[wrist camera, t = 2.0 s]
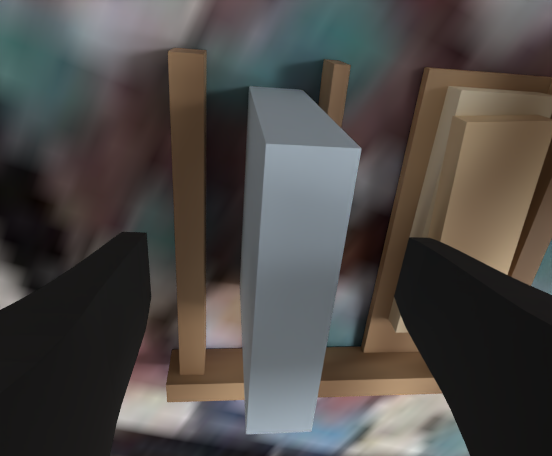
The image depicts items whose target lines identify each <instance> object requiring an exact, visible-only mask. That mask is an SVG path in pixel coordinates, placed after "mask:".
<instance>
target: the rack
mask: <svg viewBox="0 0 552 456" xmlns="http://www.w3.org/2000/svg"><path fill="white" fill-rule="evenodd" d="M350 67H351V65H349V64H346V63H344V62H341V61H339V60H326V59H324V62H323V70H322V78H321V87H320V95H319V103H318V106H319V107H320V108H321V109H322V110H323V111H324V112H325V113H326V114H327V115H328V116H329V117H330V118H331V119H332V120H333V121H334V122H335V123H336V124H337V125H338V126H339V127H340V128H341V127H342V120H343V114H344V107H345V100H346V94H347V87H348V80H349V74H350ZM168 69H169V95H170V122H171V148H172V175H173V202H174V228H175V255H176V282H177V308H178V335H179V349H178V350H172V353H171V359H170V365H169V371H168V377H167V383H166V391H167V402H190V401H221V400H245V397H244V373H243V349H242V348H241V349H206V50H197V49H184V48H173V49H171V50H169V51H168ZM448 86H457V87H471V88H485V89H499V90H513V91H527V92H540V93H544V94H548V95H552V77H546V76H533V75H520V74H507V73H494V72H481V71H468V70H455V69H443V68H430V67H425V68H424V72H423V76H422V81H421V85H420V90H419V94H418V98H417V103H416V107H415V112H414V116H413V120H412V125H411V129H410V134H409V138H408V142H407V147H406V151H405V156H404V160H403V164H402V169H401V173H400V177H399V182H398V186H397V191H396V195H395V199H394V204H393V208H392V213H391V217H390V221H389V226H388V230H387V235H386V239H385V243H384V248H383V252H382V257H381V261H380V265H379V270H378V274H377V279H376V283H375V287H374V292H373V296H372V301H371V305H370V309H369V314H368V318H367V322H366V327H365V331H364V336H363V340H362V344H361V347H326V352H325V357H324V363H323V369H322V374H321V380H320V386H319V391H318V397H346V396H377V395H408V394H439V393H442V392H441V390H440V388H439V386H438V384H437V383H436V381H435V379H434V377H433V376H432V374H431V372H430V370H429V368H428V367H427V365H426V363H425V361H424V360H423V358H422V356H421V354H420V353H419V351H418V349H417V347H416V345H415V344H414V342H413V340H412V338H411V336H410V334H409V333H408V332H405V333H396V332H395V330H394V328H393V326H392V325H391V323H390V321H389V315H390V311H391V307H392V303H393V299H394V294H395V290H396V286H397V283H398V279H399V275H400V271H401V267H402V263H403V259H404V255H405V251H406V247H407V243H408V240H409V237H410V233H411V229H412V225H413V222H414V218H415V214H416V210H417V206H418V202H419V198H420V194H421V190H422V187H423V183H424V179H425V175H426V171H427V167H428V163H429V159H430V155H431V152H432V148H433V144H434V140H435V136H436V132H437V128H438V124H439V120H440V117H441V113H442V109H443V105H444V101H445V97H446V93H447V89H448ZM550 119H552V114H551V117H550ZM551 239H552V138H551V141H550V144H549V147H548V151H547V154H546V157H545V160H544V163H543V166H542V169H541V172H540V175H539V178H538V182H537V185H536V188H535V191H534V194H533V197H532V200H531V203H530V206H529V209H528V213H527V216H526V219H525V222H524V225H523V228H522V231H521V234H520V237H519V241H518V244H517V247H516V250H515V253H514V256H513V259H512V262H511V265H510V268H509V272H508V276H511V277H513V278H515V279H517V280H519V281H521V282H523V283H525V284H528V285H530V286H531V284H532V282H533V280H534V278H535V275H536V273H537V271H538V268H539V266H540V264H541V261H542V259H543V257H544V255H545V252H546V250H547V248H548V245H549V243H550V241H551Z"/></svg>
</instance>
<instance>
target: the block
mask: <svg viewBox="0 0 552 456" xmlns="http://www.w3.org/2000/svg"><path fill="white" fill-rule="evenodd" d="M361 149H362V148H361V147H360V146H359V145H358V144H357V143H356V142H355V141H354V140H353V139H352V138H351V137H349V136H348V135H347V134H346V133H345V132H344V131H343V130H342V129H341V128H340V127H339V126H338V125H337V124H336V123H335V122H334V121H333V120H332V119H331V118H330V117H329V116H328V115H327V114H326V113H325V112H324V111H323V110H322V109H321V108H320V107H319V106H318V105H317V104H316V103H315V102H314V101H313V100H312V99H311V98H310V97H309V96H308V95H307V94H306V93H305V92H304V91H303V90H300V89H285V88H270V87H256V86H249V99H248V120H247V142H246V163H245V184H244V206H243V227H242V248H241V270H240V302H241V326H242V349H243V373H244V397H245V421H246V434H266V433H290V432H311V431H312V425H313V419H314V414H315V408H316V403H317V397H318V391H319V386H320V380H321V374H322V369H323V363H324V357H325V352H326V346H327V341H328V335H329V329H330V324H331V318H332V312H333V307H334V301H335V295H336V290H337V284H338V279H339V273H340V267H341V262H342V256H343V250H344V245H345V239H346V233H347V228H348V222H349V216H350V211H351V205H352V200H353V194H354V188H355V183H356V177H357V171H358V166H359V160H360V154H361Z"/></svg>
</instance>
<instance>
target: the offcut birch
mask: <svg viewBox="0 0 552 456" xmlns="http://www.w3.org/2000/svg"><path fill="white" fill-rule="evenodd" d="M551 114H552V95H548V94H544V93H540V92H527V91H513V90H499V89H485V88H471V87H457V86H448V89H447V93H446V97H445V101H444V105H443V109H442V113H441V117H440V120H439V124H438V128H437V132H436V136H435V140H434V144H433V148H432V152H431V155H430V159H429V163H428V167H427V171H426V175H425V179H424V183H423V187H422V190H421V194H420V198H419V202H418V206H417V210H416V214H415V218H414V222H413V225H412V229H411V233H410V237H421V238H428V234H429V229H430V224H431V219H432V214H433V209H434V204H435V200H436V195H437V190H438V185H439V180H440V175H441V170H442V165H443V161H444V156H445V151H446V146H447V141H448V136H449V131H450V126H451V121H452V117H453V116H478V115H541V116H544V117H547V118H550V117H551ZM389 321H390V323H391V325H392V326H393V328H394V330H395V332H396V333H405V332H408V331H407V329H406V327H405V325H404V322H403V320H402V317H401V315H400V312H399V309H398V306H397V304H396V301H395V298H394V299H393V303H392V307H391V311H390V315H389Z"/></svg>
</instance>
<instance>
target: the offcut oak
mask: <svg viewBox="0 0 552 456" xmlns="http://www.w3.org/2000/svg"><path fill="white" fill-rule="evenodd" d="M551 138H552V119H550V118H547V117H544V116H541V115H478V116H453V117H452V121H451V126H450V131H449V136H448V141H447V146H446V151H445V156H444V161H443V165H442V170H441V175H440V180H439V185H438V190H437V195H436V200H435V204H434V209H433V214H432V219H431V224H430V229H429V234H428V238H432V239H435V240H437V241H440V242H442V243H444V244H447V245H449V246H451V247H453V248H455V249H457V250H459V251H461V252H463V253H465V254H467V255H469V256H471V257H473V258H475V259H477V260H479V261H481V262H483V263H484V264H486V265H488V266H490V267H492V268H494V269H496V270H498V271H500V272H502V273H504V274H506V275H508V272H509V268H510V265H511V262H512V259H513V256H514V253H515V250H516V247H517V244H518V241H519V237H520V234H521V231H522V228H523V225H524V222H525V219H526V216H527V213H528V209H529V206H530V203H531V200H532V197H533V194H534V191H535V188H536V185H537V182H538V178H539V175H540V172H541V169H542V166H543V163H544V160H545V157H546V154H547V151H548V147H549V144H550V141H551Z"/></svg>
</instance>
